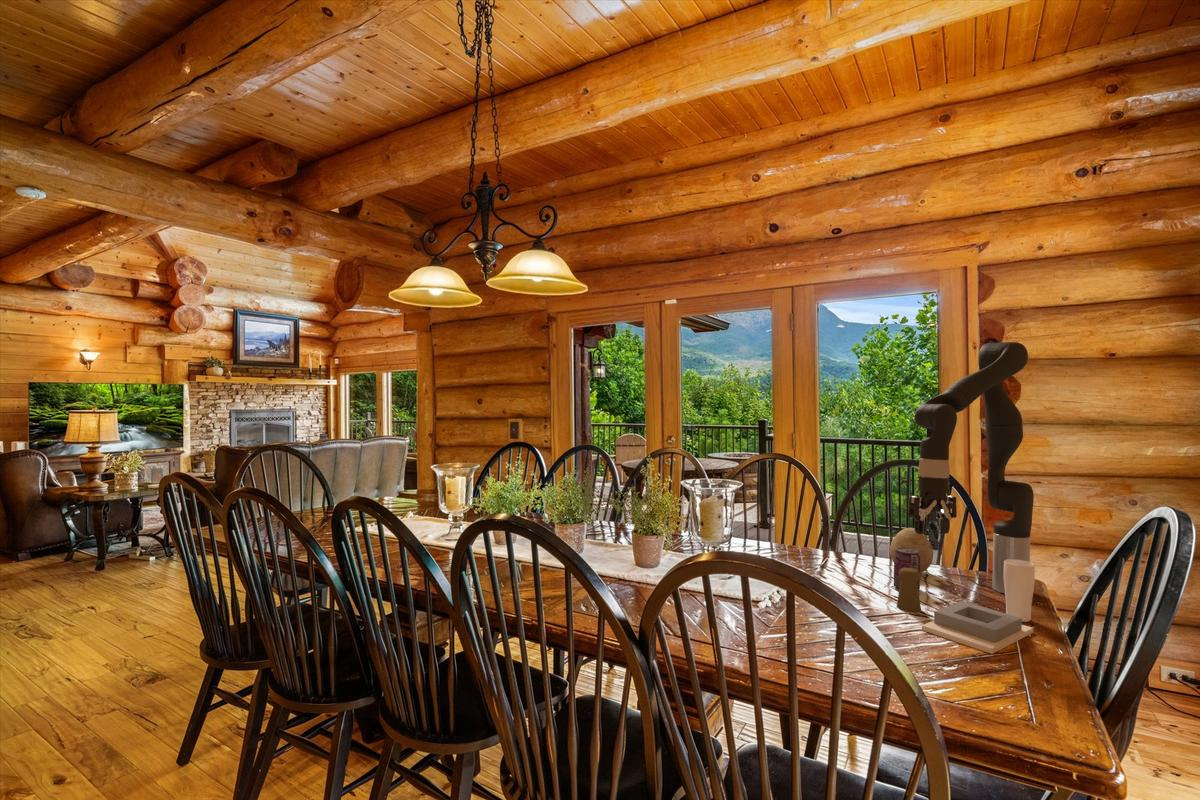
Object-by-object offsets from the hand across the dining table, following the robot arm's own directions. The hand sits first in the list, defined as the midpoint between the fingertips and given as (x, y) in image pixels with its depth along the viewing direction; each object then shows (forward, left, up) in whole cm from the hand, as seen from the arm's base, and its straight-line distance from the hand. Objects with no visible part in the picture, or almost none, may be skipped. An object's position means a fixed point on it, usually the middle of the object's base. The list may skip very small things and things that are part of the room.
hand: (932, 533), depth 165 cm
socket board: (+7, +15, -21) cm, 27 cm away
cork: (+6, -3, -21) cm, 22 cm away
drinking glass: (-11, +17, -21) cm, 29 cm away
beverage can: (-9, -12, -21) cm, 25 cm away
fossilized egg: (-26, -20, -21) cm, 39 cm away
